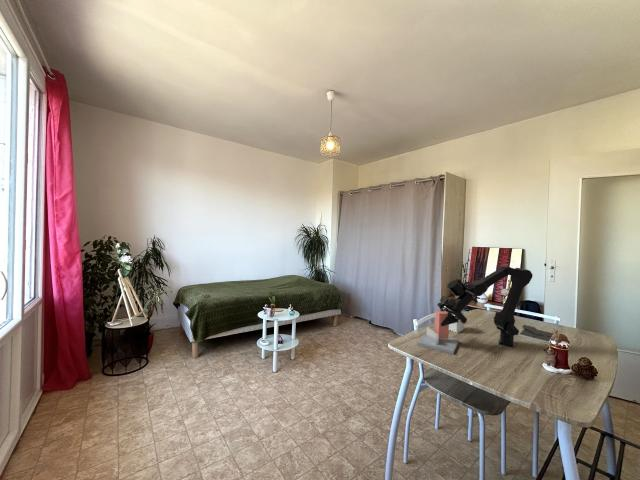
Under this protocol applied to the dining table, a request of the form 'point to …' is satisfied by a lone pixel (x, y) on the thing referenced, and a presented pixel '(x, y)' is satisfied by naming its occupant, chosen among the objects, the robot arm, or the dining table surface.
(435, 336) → the bookend
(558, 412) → the dining table surface
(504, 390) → the dining table surface
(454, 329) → the supplement box
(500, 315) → the robot arm
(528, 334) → the picture frame
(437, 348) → the shelf board
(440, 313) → the boxed book
